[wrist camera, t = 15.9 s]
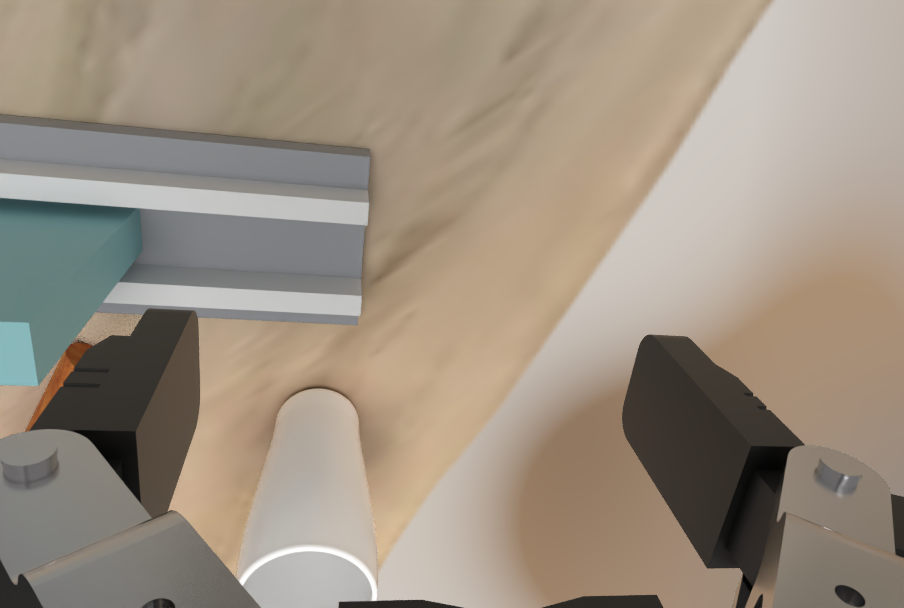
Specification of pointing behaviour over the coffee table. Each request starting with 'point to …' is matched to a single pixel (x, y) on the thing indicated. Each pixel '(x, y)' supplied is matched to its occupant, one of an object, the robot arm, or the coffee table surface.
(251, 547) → the drinking glass
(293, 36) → the coffee table surface
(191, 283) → the track board
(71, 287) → the door panel
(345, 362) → the coffee table surface
